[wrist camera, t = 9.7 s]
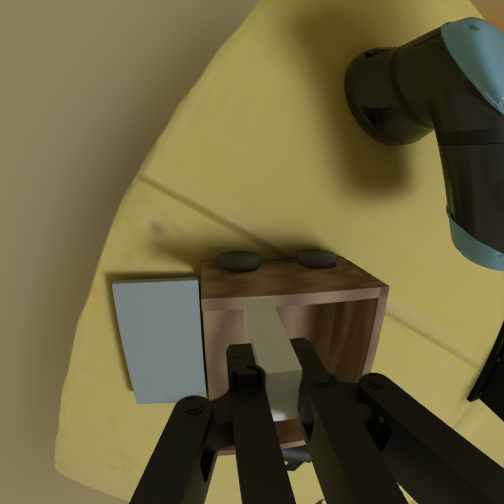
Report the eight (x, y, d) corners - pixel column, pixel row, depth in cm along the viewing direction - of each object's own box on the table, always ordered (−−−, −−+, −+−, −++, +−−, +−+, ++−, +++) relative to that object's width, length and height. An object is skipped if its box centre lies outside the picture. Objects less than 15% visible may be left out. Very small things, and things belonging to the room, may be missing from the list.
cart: (343, 248, 41) (391, 275, 29) (322, 392, 47) (349, 438, 36) (200, 252, 37) (200, 286, 26) (210, 405, 44) (215, 460, 33)
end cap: (310, 429, 50) (320, 453, 43) (289, 450, 51) (298, 473, 44) (267, 420, 47) (276, 447, 41) (248, 442, 48) (254, 468, 42)
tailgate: (198, 280, 36) (111, 283, 34) (206, 400, 41) (137, 403, 39) (197, 274, 38) (114, 278, 36) (205, 392, 43) (138, 395, 41)
